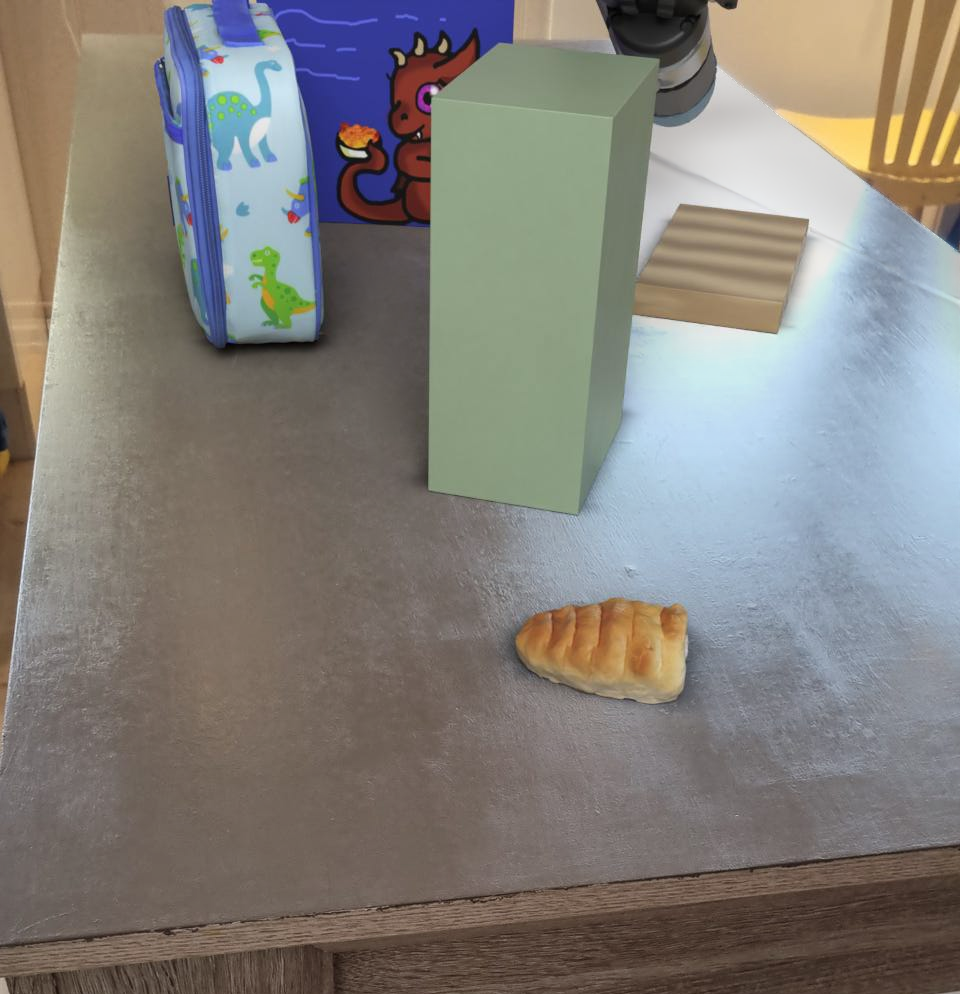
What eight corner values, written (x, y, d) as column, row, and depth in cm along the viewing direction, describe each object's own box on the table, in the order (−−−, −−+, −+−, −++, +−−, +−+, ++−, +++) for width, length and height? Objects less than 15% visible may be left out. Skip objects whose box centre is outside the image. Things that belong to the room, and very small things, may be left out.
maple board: (676, 231, 129) (679, 203, 127) (804, 247, 126) (809, 218, 125) (631, 314, 113) (635, 283, 111) (777, 334, 111) (783, 302, 109)
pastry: (508, 695, 72) (512, 633, 70) (519, 626, 77) (523, 567, 75) (686, 711, 72) (696, 649, 69) (686, 641, 77) (695, 581, 74)
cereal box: (505, 209, 132) (522, -179, 112) (504, 230, 127) (521, -171, 107) (280, 199, 132) (256, -191, 112) (270, 219, 127) (244, -184, 107)
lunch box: (173, 252, 120) (141, -28, 106) (295, 247, 122) (280, -29, 108) (192, 374, 101) (156, 53, 87) (336, 365, 103) (324, 50, 89)
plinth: (485, 404, 99) (498, 42, 83) (620, 424, 97) (659, 58, 82) (428, 491, 89) (431, 97, 73) (577, 515, 87) (613, 117, 72)
